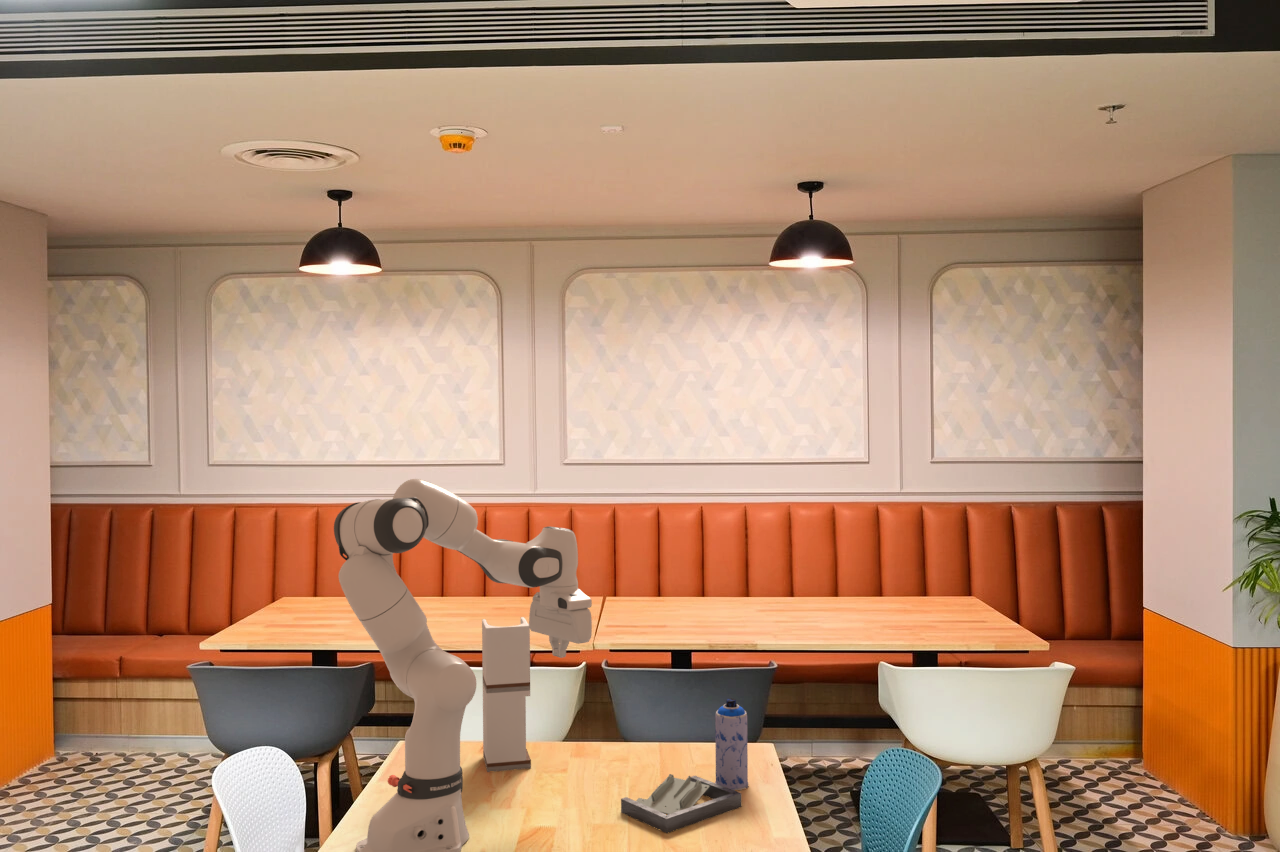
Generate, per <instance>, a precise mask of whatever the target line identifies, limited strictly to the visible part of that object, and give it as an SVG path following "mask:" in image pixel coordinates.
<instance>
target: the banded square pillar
mask: <svg viewBox="0 0 1280 852" xmlns="http://www.w3.org/2000/svg"><path fill="white" fill-rule="evenodd" d="M530 632H531V630H530V627H529V622H528V621H527V619H526V618H525V616H521V617H520V623H519V624H517V625H509V626H507V625H506V626H497V625H491V624H488V622H487V619H486V618H484V619H481V635H482V637H481V641H482V643H481V644H482V645H481V646H482V647H481V651H482V652H481V653H482V657H481V661H482V663H481V664H482V668H481V669H482V741H483V744H482V746H483V748H482V752H483V753H482V754H483V755H482V757H484V758H483V762H484V764H485V768H486V772H487V773H491V772H490V771H494V772H503V771H504V772H505V771H515V770H514V769H517V770H526V769H529V770H530V769H531V768H532V760H531V757H530V755H529V752H528V749H527V724H526V723H527V719H526V717H527V715H526V714H527V711H526V709H527V707H526V706H527V705H526V701H527V700H526V697H531V638H530V637H531V635H530V634H531V633H530Z"/></svg>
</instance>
